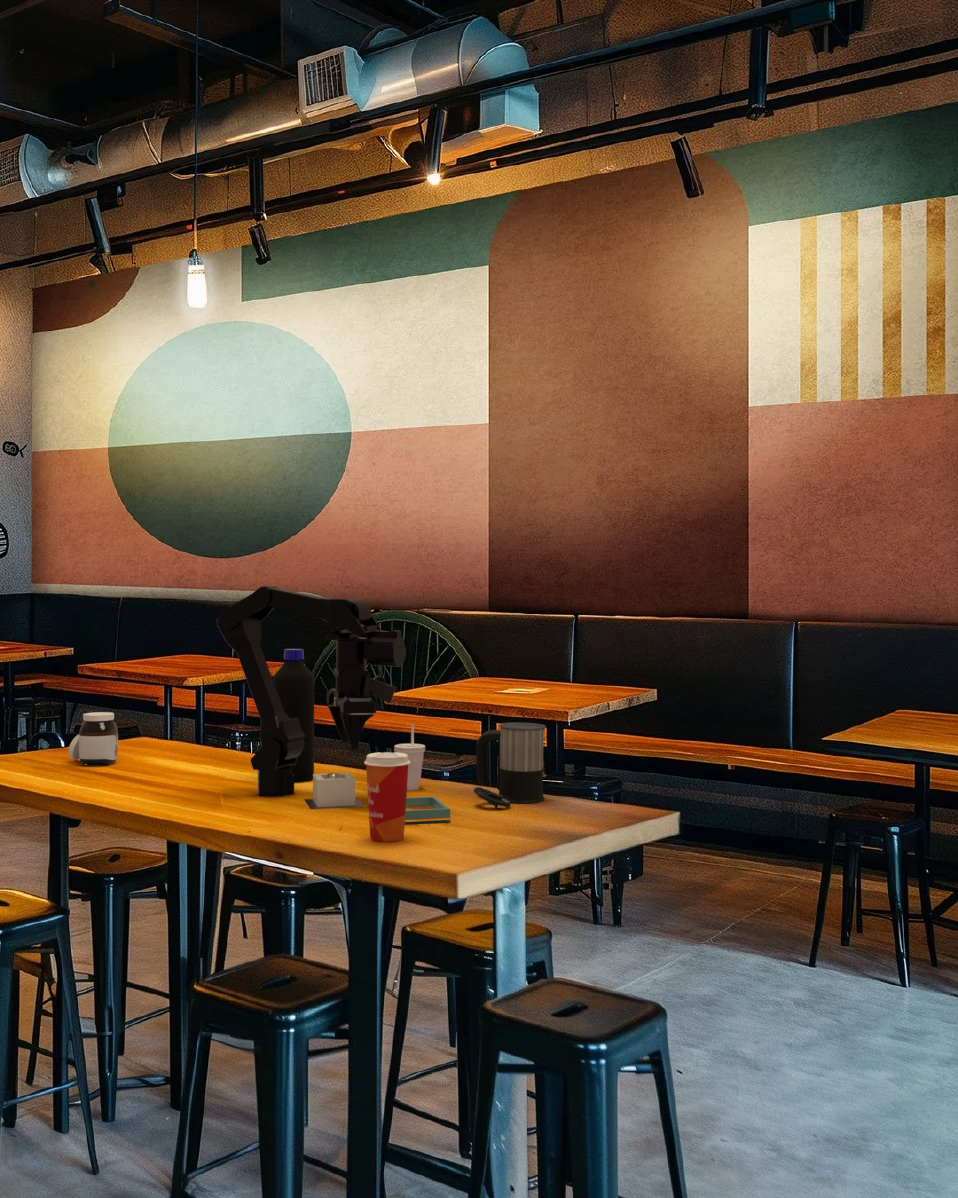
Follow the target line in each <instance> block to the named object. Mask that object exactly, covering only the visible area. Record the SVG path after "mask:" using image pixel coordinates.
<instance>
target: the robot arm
mask: <svg viewBox="0 0 958 1198" xmlns="http://www.w3.org/2000/svg"><path fill="white" fill-rule="evenodd" d="M274 609H277V610H278V609H279V610H284V611H289V612H292V613H293V612H294V613H296V614H297V613H298V614H302V615H306V616H312V617H317V618H319V619H320V620H323V621H325V622H326V623H327V624H330V625H332V626H334V628H333V629H332V631H331V632H329V634H327V635H326V636H325V639H326V641H336V646H335V647H336V655H335V657H336V659H335V663H336V664H335V668H333V674H334V675H335V688H330V689H329V690H328V691H327V692H326V694H325V695H326V696H325V697H326V700H325V703H326V704H327V708H328V710H329V712H330V716H331V717H332V720H333V723H334V725H335V728H336V729H337V733H338V736H339V738H340V740H341V742H342V743H344V744H345V743H346V744H347V743H349V745H350V749H351V750H354V751H356V750H358V748H359V745H360V741H361V737H362V734H363V730H364V726H365V723H366V722H367V721H369V720H370V719H371V718H373V717H374V715H375V714H376V713H377V702H376V701H375V700H374V699H373V698H372V697H376V698H378V699H379V700H382V701H384V702H387V703H388V704H391V702H392V700H393V698H394V694H395V691H396V689H397V687H396V686H394V685H393V686H392V685H390V684H387V683H386V678H385V677H382V676H380V675H377V674H376V676H375V675H374V677H373V678H371V677H370V676H371V673H370V671H369V670H368V669H367V661H368V664H370V666H375V667H378V666H379V667H396V668H397V667H398V668H400V667H402V666H403V665H404V663H405V660H406V656H407V647H406V645H405V640H404V639H403V637H402V631H401V630H388V631H387V630H383V629H382V628H381V626H380V625H379V623H378V622H377V620H376V619H375V617H374V616H373V613H372V609H371V606H370V604H369V603H368V601H366V600H365V599H362V598H327V597H323V596H318V595H314V594H308V593H303V592H299V591H294V590H293V591H292V590H290V589H283V588H280V587H278V586H275V585H274V586H272V585H271V586H270V585H269V586H268V585H265V586H264V585H263V586H261V587H259V588H257V589H256V590H255V591H254V592H252V593H251V594H249V595H247V596H245V597H244V598H242V599H240V600H239V601H237V602H235V603H234V604H233V605H232V606H226V607H224V608H223V609H221V611H220V612H219V614H218V617H217V618H216V626H217V628H218V630H219V632H220V634H221V635H222V637H223V639H224V641H225V642H226V644H227V645H228V646H230V648H231V649H232V650H233V651H234V652H235V653H236V654H237V657H238V660H239V664H240V666H241V668H242V671H243V674H244V677H245V680H246V683H247V685H248V688H249V691H250V693H251V696H252V698H253V702H254V705H255V707H256V710H257V713H258V715H259V718H260V731H259V739H260V740H259V741H260V745H261V748H260V749H258V751H257V752H256V753H255V754H254V755H253V756H252V757H251V758H250V763H251V767H252V769H253V771H257V794H258V797H270V798H271V797H272V798H276V797H285V796H291V795H295V783H294V775H293V773H291V767H290V766H291V765H295V764H296V761H297V758H298V756H299V755H300V754H301V753H302V751H303V748H304V746H305V743H304V739H303V737H306V735H305V734H304V733H303V731H302V729H301V726H300V721H299V719H298V718H293V719H290V718H289V717H288V716H287V714H286V713H285V712H284V709H283V707H282V704H281V701H280V698H279V696H278V693H277V690H276V687H275V684H274V682H273V677H272V673H271V671H270V669H269V666H268V663H267V660H266V658H265V655H264V651H263V649H262V646H261V641H262V635H263V634H262V625H261V622H263V621H264V620H265V619H266V618H267V617H268V616H270V614H271V612H272V611H273V610H274ZM344 630H348V631H344ZM361 636H365V637H361ZM371 696H372V697H371Z"/></svg>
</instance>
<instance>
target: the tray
mask: <svg viewBox="0 0 958 1198" xmlns="http://www.w3.org/2000/svg"><path fill="white" fill-rule="evenodd" d="M427 806H431V807H433V808H427V809H426V808H423V809H422V808H421V809H406V813H405V826H415V825H416V826H417V825H436V824H437V825H438V824H451V819H450V818H451V808H450V807H448V806H447V805H446V804H445V803H443V802H442V801H441V800H440V799H439V798H438V797H436V796H417V797H416V796H415V797H413V796H412V797H406V808H409V807H427ZM448 818H449V819H448ZM428 819H436V820H428ZM437 819H438V820H437ZM439 819H441V820H439ZM407 820H409V821H407ZM410 820H417V821H410ZM420 820H421V821H420Z"/></svg>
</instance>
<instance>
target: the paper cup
mask: <svg viewBox="0 0 958 1198" xmlns="http://www.w3.org/2000/svg"><path fill="white" fill-rule="evenodd" d="M363 763H364V765H365V766H366V769H365V770H366V784H367V785H366V786H367V791H366V792H367V803H368V804H367V808H368V823H369V824H368V825H369V836H370V840H371V841H374V842H379V843H392V842H393V843H394V842H400V841H402V840H404V838H405V826H406V825H405V822H406V820H405V813H406V810H407V807H406V798H408V797H407V796H408V793H407V791H408V790H407V780H408V764H410V761H409V760H408V755H407V754H404V753H397V752H396V751H394V752H390V751H389V752H388V751H384V752H373V753H372V752H371V753H368V754H367V755H366V759H365V760H364V762H363Z"/></svg>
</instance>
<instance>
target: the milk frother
mask: <svg viewBox="0 0 958 1198" xmlns="http://www.w3.org/2000/svg"><path fill="white" fill-rule="evenodd" d="M498 726H499V728H500V729H491V730H488V731H484V733H482V734H481V735H480V736H479V737H478V738H477V741H476V743H475V761H476V763H475V764H476V776H477V777H476V779H477V783H478V784H479V785H481V786H485V785H487V784H488V783H489V781H490V775H489V773H490V772H489V744H490V742H492V741H497V742H498V744H497V748H498V749H497V750H498V751H497V785H496V786H497V790H498V793H496V792H493V791H491V790H488V789H486V788H483V787H480V786H479V787H474V789H473V793H474V795H477V796H478V797H479V798H480V799H482V800H484V801H486V802H487V803H488V804H490V805H492V806H494V808H495V809H497V808H498V806H500V807H510V806H511V804H512V803H516V804H529V803H531V804H532V803H539V802H543V801H544V800H545V796H544V785H543V781H544V778H543V777H544V775H543V773H544V769H543V768H544V738H545V737H544V734H545V733H544V732H545V730H546V728H547V726H546V725H545V724H541V723H534V722H503V723H500V724H498Z"/></svg>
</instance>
